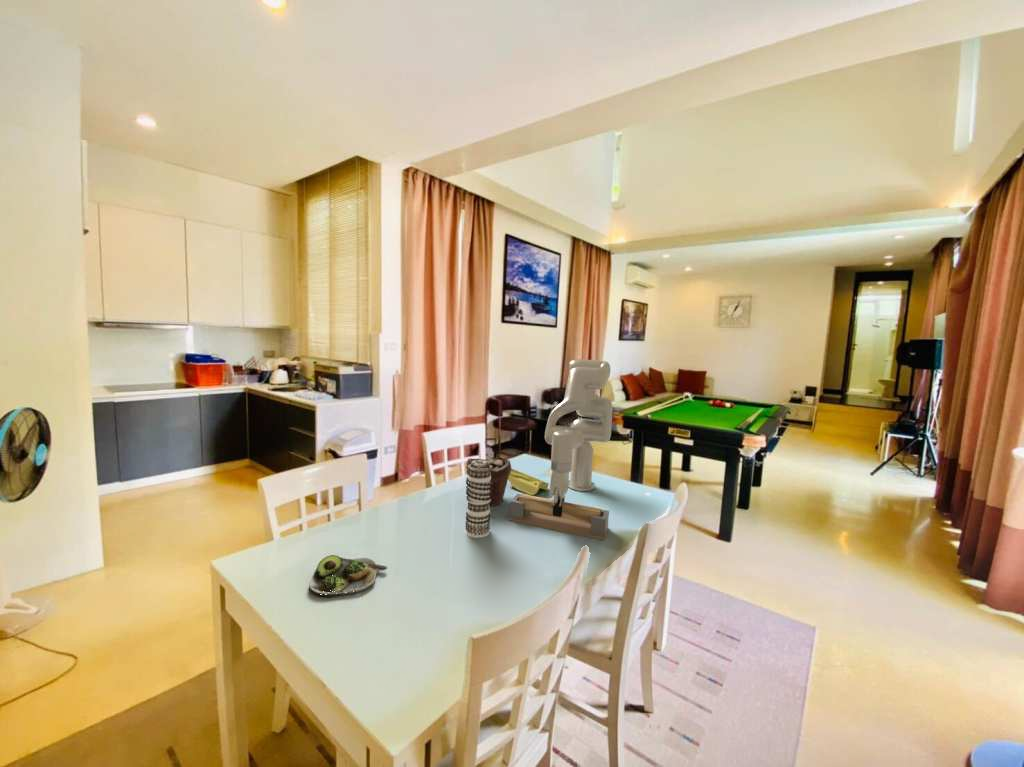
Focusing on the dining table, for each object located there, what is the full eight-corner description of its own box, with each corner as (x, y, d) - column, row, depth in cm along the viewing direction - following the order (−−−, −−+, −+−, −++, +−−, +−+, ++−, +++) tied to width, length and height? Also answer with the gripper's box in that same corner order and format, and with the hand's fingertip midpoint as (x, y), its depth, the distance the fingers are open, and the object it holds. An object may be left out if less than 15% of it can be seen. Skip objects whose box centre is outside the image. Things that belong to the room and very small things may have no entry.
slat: (521, 506, 160) (521, 493, 159) (600, 522, 149) (601, 508, 149) (518, 509, 157) (518, 496, 156) (598, 525, 146) (599, 512, 146)
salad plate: (388, 558, 127) (389, 543, 126) (384, 594, 110) (384, 577, 109) (320, 563, 123) (320, 548, 122) (304, 602, 105) (303, 584, 105)
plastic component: (550, 484, 187) (540, 480, 180) (545, 500, 186) (534, 496, 178) (516, 470, 199) (505, 466, 192) (510, 485, 198) (499, 481, 190)
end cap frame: (517, 510, 164) (518, 492, 163) (608, 528, 152) (609, 509, 151) (508, 520, 155) (509, 502, 154) (603, 540, 143) (605, 520, 142)
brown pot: (519, 497, 176) (520, 456, 174) (492, 514, 160) (493, 468, 158) (485, 488, 186) (486, 449, 184) (456, 502, 169) (456, 460, 167)
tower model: (458, 533, 143) (460, 463, 140) (473, 523, 151) (475, 456, 148) (481, 541, 139) (484, 468, 136) (495, 529, 147) (498, 461, 144)
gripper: (556, 457, 160) (554, 504, 162) (544, 470, 144) (542, 521, 147) (576, 460, 157) (573, 507, 159) (566, 473, 142) (563, 525, 144)
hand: (558, 513), depth 153 cm, fingers closed on slat, 3 cm apart
